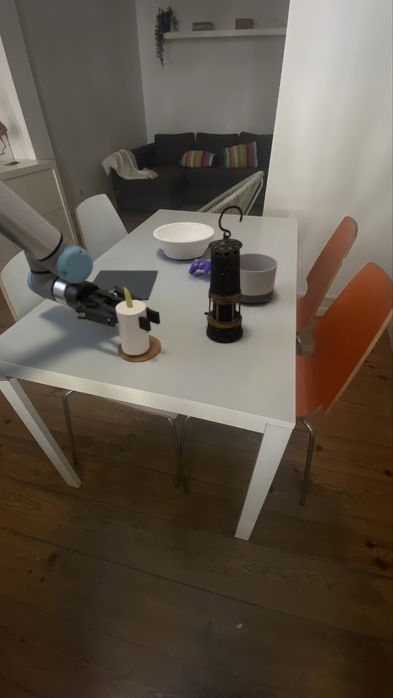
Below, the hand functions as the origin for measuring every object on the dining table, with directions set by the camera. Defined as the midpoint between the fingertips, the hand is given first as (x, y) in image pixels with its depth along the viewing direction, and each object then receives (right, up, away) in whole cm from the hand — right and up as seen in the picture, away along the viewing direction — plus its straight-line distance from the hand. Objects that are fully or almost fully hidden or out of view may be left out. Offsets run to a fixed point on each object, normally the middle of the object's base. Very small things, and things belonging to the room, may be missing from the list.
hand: (153, 321), depth 66 cm
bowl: (+5, +30, +54) cm, 62 cm away
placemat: (-15, +15, +35) cm, 41 cm away
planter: (+25, +10, +27) cm, 38 cm away
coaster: (-4, -6, +8) cm, 11 cm away
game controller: (+12, +19, +39) cm, 45 cm away
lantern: (+16, -2, +13) cm, 20 cm away
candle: (-5, -5, +7) cm, 10 cm away
